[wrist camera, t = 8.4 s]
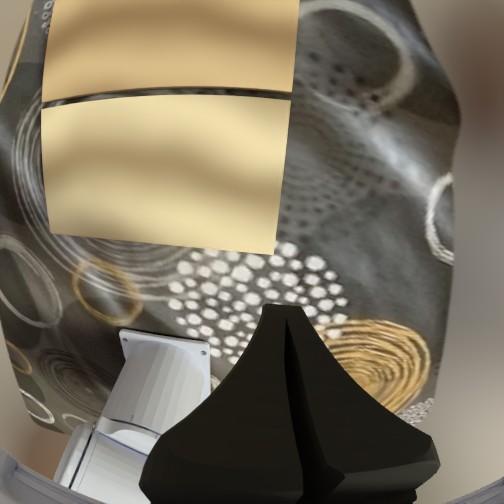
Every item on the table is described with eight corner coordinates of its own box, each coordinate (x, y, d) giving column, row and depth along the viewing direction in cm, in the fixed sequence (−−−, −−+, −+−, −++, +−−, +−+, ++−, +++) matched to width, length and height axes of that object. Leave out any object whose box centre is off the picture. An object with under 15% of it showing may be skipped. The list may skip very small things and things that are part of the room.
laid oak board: (289, 94, 15) (291, 91, 14) (54, 101, 15) (41, 102, 14) (298, -20, 12) (301, -30, 11) (67, 2, 12) (55, -2, 11)
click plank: (272, 244, 20) (273, 254, 18) (61, 225, 20) (50, 233, 18) (288, 102, 16) (290, 100, 14) (54, 108, 16) (41, 109, 14)
